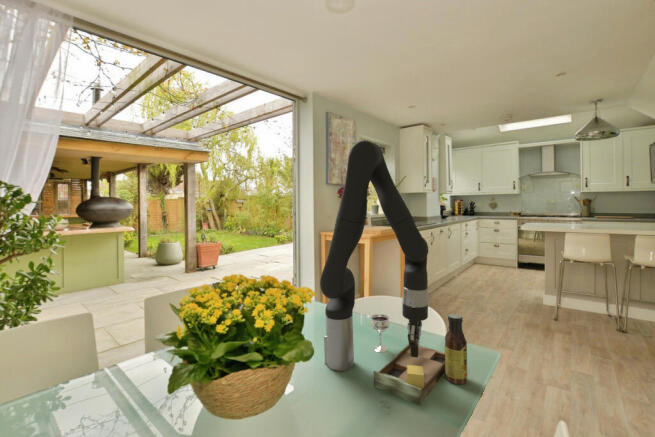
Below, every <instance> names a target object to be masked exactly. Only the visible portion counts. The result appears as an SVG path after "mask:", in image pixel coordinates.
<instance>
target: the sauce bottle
mask: <svg viewBox="0 0 655 437" xmlns="http://www.w3.org/2000/svg"><path fill="white" fill-rule="evenodd" d="M447 320H448V330H447V333H446V334H445V336H444V353H445V372H444V374H445V378H446V380H447V381H448V382H450V383H452V384H454V385H464V384H466V382H467V380H468V378H467V377H468V348H467V347H468V343H467V342H468V341H467V339H466V337H465V334H464V331H463V316H462V315H461V314H456V313H449V314H448V315H447Z"/></svg>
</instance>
